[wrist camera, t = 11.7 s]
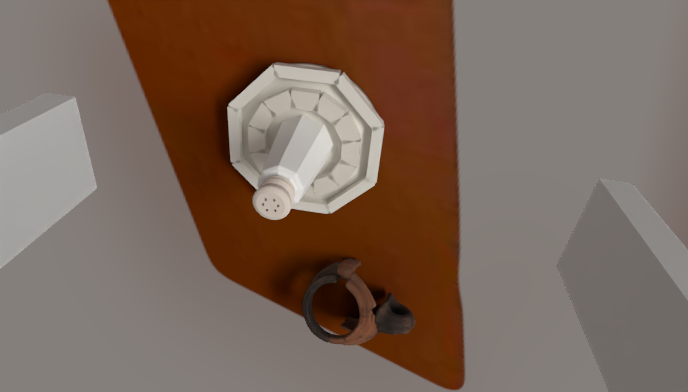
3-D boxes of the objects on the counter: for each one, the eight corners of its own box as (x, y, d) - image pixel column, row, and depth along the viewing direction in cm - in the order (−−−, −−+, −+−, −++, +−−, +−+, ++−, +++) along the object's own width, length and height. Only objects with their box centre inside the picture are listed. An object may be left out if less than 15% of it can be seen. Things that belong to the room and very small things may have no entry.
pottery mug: (326, 320, 54) (292, 345, 47) (331, 246, 53) (297, 259, 46) (421, 342, 49) (401, 373, 42) (428, 260, 49) (408, 277, 41)
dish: (232, 53, 38) (223, 59, 36) (392, 73, 37) (390, 80, 35) (239, 190, 45) (232, 200, 43) (372, 210, 44) (370, 221, 42)
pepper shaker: (278, 166, 42) (238, 233, 32) (273, 112, 39) (228, 168, 30) (333, 170, 41) (309, 239, 32) (333, 115, 38) (306, 174, 29)
